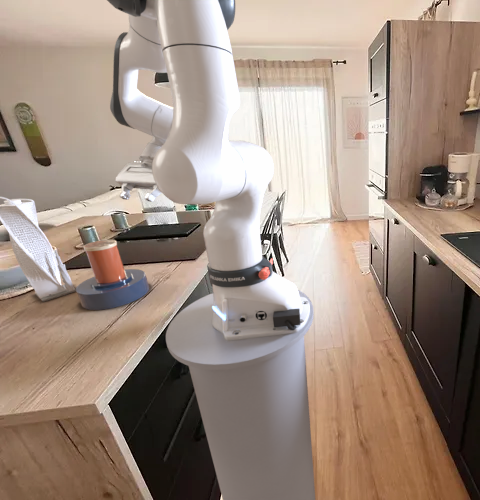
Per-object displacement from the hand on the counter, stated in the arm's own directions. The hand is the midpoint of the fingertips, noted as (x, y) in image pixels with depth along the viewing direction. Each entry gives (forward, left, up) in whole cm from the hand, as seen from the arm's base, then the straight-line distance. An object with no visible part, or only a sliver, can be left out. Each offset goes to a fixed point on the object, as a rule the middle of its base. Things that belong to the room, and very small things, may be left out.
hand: (135, 199), depth 82 cm
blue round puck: (+4, +12, -25) cm, 27 cm away
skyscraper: (+23, +11, -25) cm, 35 cm away
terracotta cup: (+4, +12, -19) cm, 23 cm away
